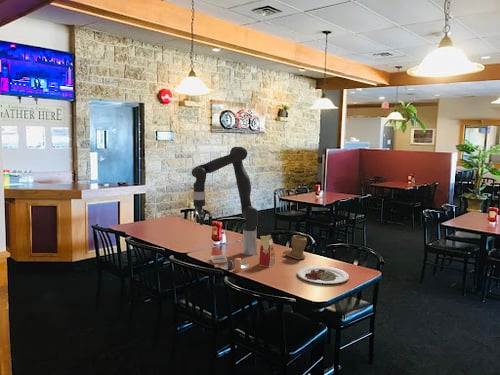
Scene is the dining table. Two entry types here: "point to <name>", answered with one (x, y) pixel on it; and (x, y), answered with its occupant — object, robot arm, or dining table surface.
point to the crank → (231, 264)
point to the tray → (219, 258)
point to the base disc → (243, 266)
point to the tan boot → (297, 247)
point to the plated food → (323, 274)
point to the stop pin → (237, 265)
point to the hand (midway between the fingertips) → (199, 223)
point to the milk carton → (266, 252)
